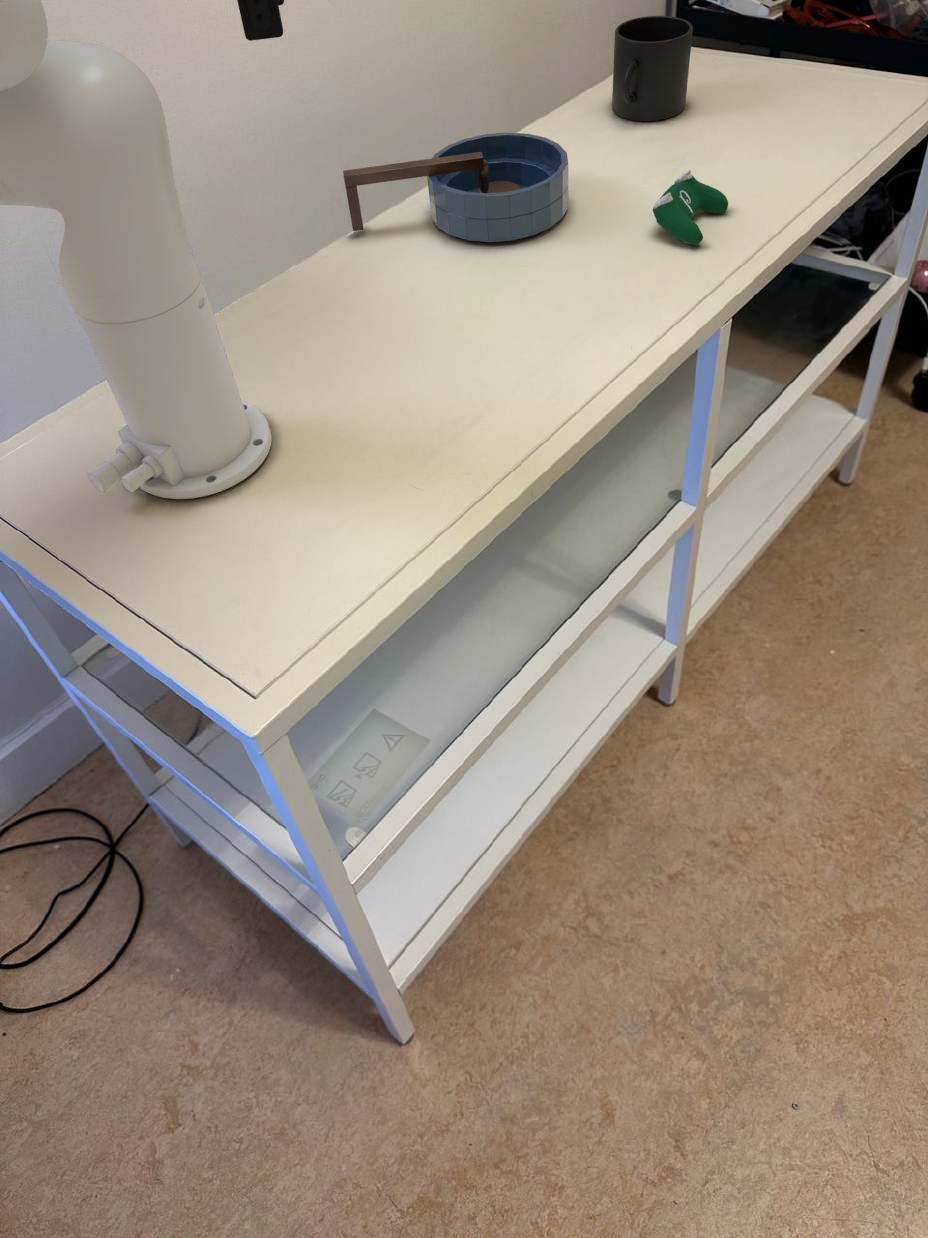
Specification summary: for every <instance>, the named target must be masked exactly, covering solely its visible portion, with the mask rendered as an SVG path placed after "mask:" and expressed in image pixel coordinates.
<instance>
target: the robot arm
mask: <svg viewBox="0 0 928 1238" xmlns="http://www.w3.org/2000/svg"><path fill="white" fill-rule="evenodd" d="M236 1H237V2H236V3H237V6H238V10H239V15H240V19H241V23H242V29H243V33H244V36H245V37H244V38H245V39H246V40H247V41H251V42H252V41H259V40H267V39H276V38H281V37H282V36H283V35H284V27H283V22H282V17H281V16H282V15H281V11H280V7H279V6H282V5H284V3H285V0H236ZM46 15H47V14H46V11H45V8H44V4H43V2H42V0H0V206H2V205H3V206H4V205H5V206H23V207H34V208H39V209H52V210H54V211H56V212H58V213H59V214H60V215H61V217H62V218H63V223H64V233H63V238H62V242H61V247H60V250H59V251H60V252H59V258H58V259H59V260H58V262H59V263H58V266H59V273H60V278H61V282H62V285H63V287H64V290H65V292H66V295H67V298H68V299H69V302H70V304H71V306H72V308H73V311H74V312H75V314H76V316H77V318H78V320H79V322H80V325H81V328H82V330H83V331H84V334H85V336H86V338H87V340H88V343H89V345H90V347H91V349H92V351H93V354H94V356H95V357H96V360H97V362H98V364H99V367H100V368H101V369H100V370H101V371H102V373H103V376H104V377H105V379H106V381H107V384H108V386H109V388H110V390H111V392H112V395H113V397H114V400H115V401H116V403H117V406H118V408H119V411H120V412H121V415H122V416H123V419H124V421H125V423H126V425H124V426H123V427H121V428H120V429H119V430H117V434H118V437H119V438H120V440H121V444H120V445H119V446H117V447H116V448H115V455H113V456H112V457H110V458H109V459H108V460H105V461H103V462H102V463H100V464H99V465H98V466H96V467H95V468H93V469H92V470H90V471H89V472H88V473H87V478H88V480H89V481H90V483H91V484H92V486H93V487H95V488H96V490H98V491H99V492H101V493H105V492H107V491H108V490H109V489H111V488H112V487H114V486H115V485H117V484H118V483H119V482H120V481H121V484H122V485H123V487H124V488H125V489H126V490H127V491H128V492H130V493H134V492H135V491H136V490H137V489H139V488H140V489H141V490H142V491H144V492H146V493H148V494H150V495H153V496H155V497H158V498H159V497H160V498H163V499H171V500H187V499H188V500H189V499H191V500H192V499H197V498H203V497H207V496H211V495H214V494H217V493H221V492H223V491H226V490H228V489H229V488H232V487H234V486H236V485H238V484H239V483H241V482H243V481H244V480H246V479H247V478H248V477H249V476H251V475H252V474H253V473H255V472H256V470H258V468H259V467H260V466H261V465H262V464H263V463H264V461H265V459H267V456H268V454H269V453H270V449H271V447H272V439H273V438H272V431H271V427H270V424H269V422H268V420H267V417H266V415H265V414H263V413H262V412H261V410H260V409H258V408H257V407H255V406H254V405H253V404H250V403H248V402H244V401H243V400H242V397H241V394H240V391H239V388H238V385H237V382H236V379H235V376H234V372H233V370H232V366H231V363H230V360H229V357H228V353H227V351H226V348H225V346H224V345H225V344H224V343H223V339H222V336H221V333H220V330H219V327H218V324H217V321H216V318H215V315H214V312H213V309H212V306H211V303H210V299H209V296H208V293H207V291H206V287H205V284H204V281H203V278H202V276H201V273H200V269H199V267H198V263H197V260H196V257H195V254H194V251H193V248H192V245H191V241H190V238H189V234H188V231H187V227H186V225H185V221H184V217H183V213H182V210H181V206H180V201H179V196H178V190H177V186H176V181H175V175H174V168H173V162H172V154H171V147H170V140H169V132H168V126H167V122H166V116H165V113H164V109H163V105H162V102H161V99H160V97H159V94H158V91H157V90H156V88H155V86H154V84H153V83H152V81H151V80H150V78H149V77H148V76H147V75H146V73H145V72H144V71H143V69H141V67H139V65H137V64H136V63H135V62H134V61H132V60H131V59H130V58H128V57H127V56H125V55H123V54H122V53H120V52H118V51H116V50H114V49H111V48H109V47H106V46H103V45H98V44H94V43H90V42H86V41H80V40H79V41H77V40H66V39H49V28H48V19H47V16H46Z"/></svg>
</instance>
